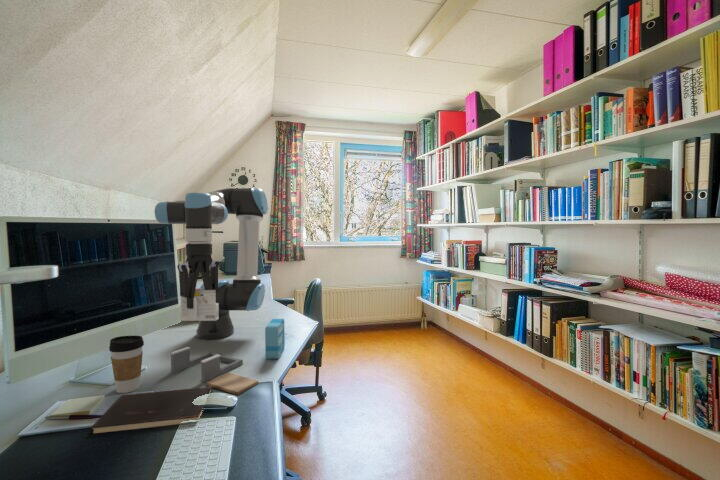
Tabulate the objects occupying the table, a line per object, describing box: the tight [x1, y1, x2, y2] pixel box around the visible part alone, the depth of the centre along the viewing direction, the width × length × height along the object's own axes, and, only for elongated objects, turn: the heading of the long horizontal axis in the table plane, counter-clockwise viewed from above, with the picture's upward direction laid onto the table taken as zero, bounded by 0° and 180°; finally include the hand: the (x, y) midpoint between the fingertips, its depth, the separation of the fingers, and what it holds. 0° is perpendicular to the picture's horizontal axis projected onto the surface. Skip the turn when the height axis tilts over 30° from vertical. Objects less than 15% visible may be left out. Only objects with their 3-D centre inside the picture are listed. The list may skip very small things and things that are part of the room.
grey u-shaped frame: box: [169, 346, 244, 383], centre depth 117 cm, size 16×16×6 cm
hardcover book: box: [90, 386, 213, 434], centre depth 90 cm, size 16×23×2 cm
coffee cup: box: [108, 335, 145, 394], centre depth 102 cm, size 8×8×15 cm
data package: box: [264, 318, 286, 360], centre depth 129 cm, size 12×4×12 cm, turn 1°
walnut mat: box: [205, 371, 259, 395], centre depth 105 cm, size 13×8×1 cm, turn 63°
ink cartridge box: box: [180, 290, 219, 322], centre depth 110 cm, size 2×11×10 cm, turn 92°
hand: (200, 316), depth 110 cm, fingers closed on ink cartridge box, 4 cm apart
